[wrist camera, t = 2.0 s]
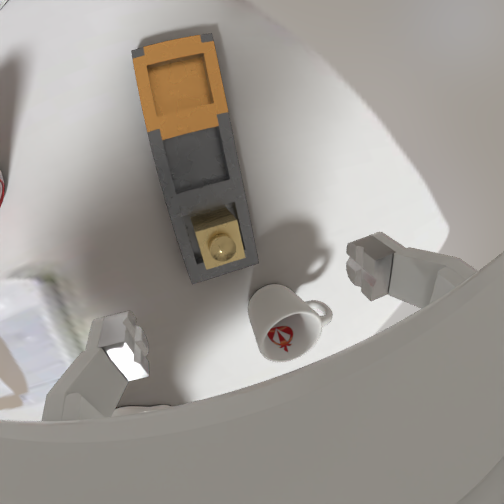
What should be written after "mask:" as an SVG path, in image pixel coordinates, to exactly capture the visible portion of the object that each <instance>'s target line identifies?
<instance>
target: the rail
mask: <svg viewBox="0 0 504 504" xmlns="http://www.w3.org/2000/svg"><path fill="white" fill-rule="evenodd" d="M132 58H133V64H134V70H135V75H136V81H137V86H138V91H139V96H140V101H141V106H142V110H143V115H144V119H145V124H146V128H147V132H148V137H149V141H150V145H151V149H152V153H153V157H154V161H155V165H156V168H157V172H158V176H159V180H160V183H161V187H162V191H163V194H164V198H165V201H166V205H167V208H168V211H169V215H170V218H171V221H172V225H173V228H174V231H175V234H176V238H177V241H178V244H179V247H180V250H181V253H182V256H183V259H184V262H185V265H186V268H187V271H188V274H189V277H190V280H191V283H192V284H195V283H198V282H201V281H204V280H208V279H211V278H214V277H217V276H220V275H223V274H227V273H230V272H233V271H236V270H239V269H242V268H246V267H249V266H252V265H255V264H258V263H259V261H258V256H257V251H256V246H255V241H254V236H253V231H252V226H251V221H250V216H249V211H248V206H247V201H246V196H245V191H244V186H243V181H242V177H241V172H240V167H239V162H238V157H237V152H236V147H235V142H234V137H233V133H232V128H231V123H230V118H229V113H228V107H227V102H226V98H225V93H224V88H223V83H222V78H221V74H220V69H219V64H218V59H217V55H216V50H215V45H214V41H213V37H212V33H211V34H204V35H195V36H190V37H184V38H179V39H174V40H169V41H165V42H161V43H157V44H153V45H149V46H145V47H143V48H139V49H136V50H132ZM224 207H226V208H227V209H228V210H229V211H230V212H231V214H232V215H233V216H234V217H235V218H236V219H237V222H238V226H239V231H240V235H241V240H242V244H243V249H244V253H245V258H243V259H240V260H236V261H233V262H230V263H227V264H224V265H220V266H217V267H214V268H211V269H208V270H206V267H205V264H204V261H203V258H202V255H201V252H200V249H199V246H198V242H197V239H196V235H195V232H194V228H193V225H192V221H191V218H190V217H193V216H196V215H200V214H203V213H207V212H210V211H213V210H217V209H220V208H224Z"/></svg>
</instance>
